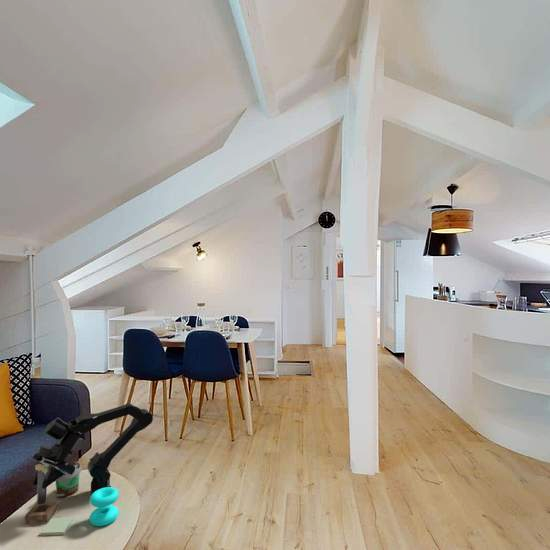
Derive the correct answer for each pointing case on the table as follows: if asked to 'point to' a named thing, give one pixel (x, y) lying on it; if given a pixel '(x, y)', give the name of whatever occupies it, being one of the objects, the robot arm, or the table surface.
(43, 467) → the t key
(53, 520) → the mat
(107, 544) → the table surface
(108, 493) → the donuts
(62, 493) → the food container
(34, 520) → the socket block
